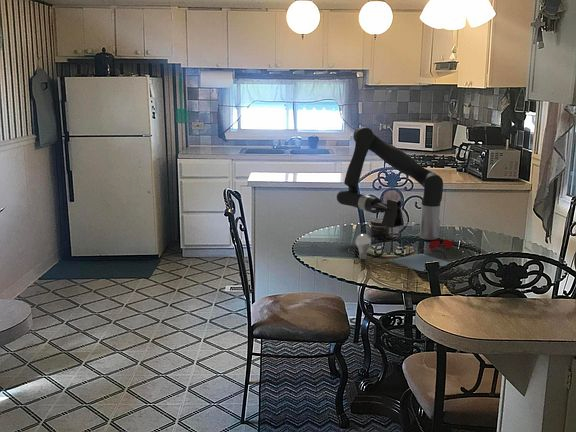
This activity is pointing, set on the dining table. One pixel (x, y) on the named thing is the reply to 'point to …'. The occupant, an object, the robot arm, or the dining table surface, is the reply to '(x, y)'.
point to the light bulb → (363, 245)
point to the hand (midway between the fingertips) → (395, 210)
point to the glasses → (446, 243)
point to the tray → (417, 261)
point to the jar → (378, 228)
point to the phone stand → (393, 214)
